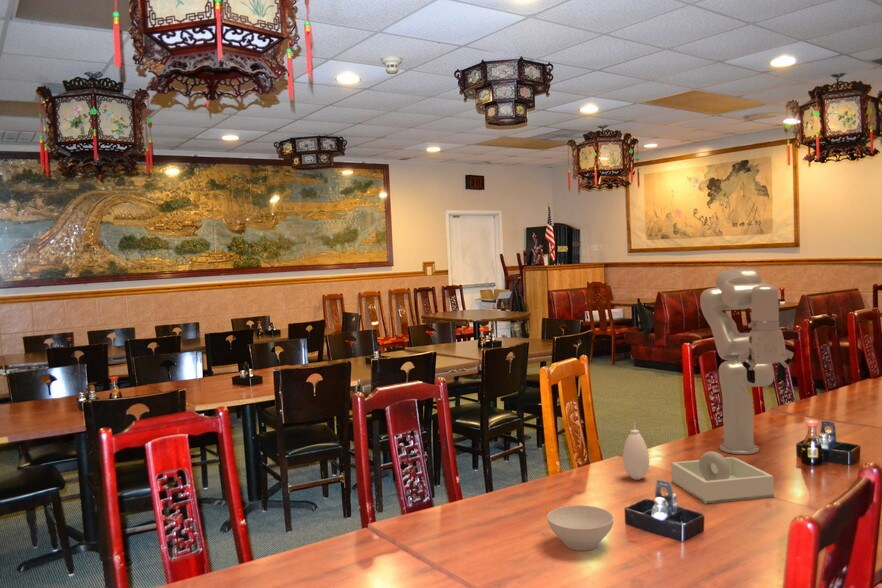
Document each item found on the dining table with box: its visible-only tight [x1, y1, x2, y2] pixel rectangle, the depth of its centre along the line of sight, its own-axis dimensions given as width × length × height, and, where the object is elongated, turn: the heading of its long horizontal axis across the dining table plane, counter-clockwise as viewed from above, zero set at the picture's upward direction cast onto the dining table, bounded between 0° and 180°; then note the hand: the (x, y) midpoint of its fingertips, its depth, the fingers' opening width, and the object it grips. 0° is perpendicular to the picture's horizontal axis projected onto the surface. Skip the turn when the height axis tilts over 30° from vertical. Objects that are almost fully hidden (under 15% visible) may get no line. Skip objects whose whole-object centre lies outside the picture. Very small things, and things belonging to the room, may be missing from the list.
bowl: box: [546, 504, 614, 552], centre depth 171 cm, size 16×16×7 cm
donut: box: [699, 450, 730, 481], centre depth 207 cm, size 10×4×10 cm, turn 31°
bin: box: [670, 456, 775, 505], centre depth 205 cm, size 20×20×6 cm
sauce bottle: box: [622, 421, 650, 481], centre depth 219 cm, size 8×8×18 cm
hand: (766, 381), depth 216 cm, fingers open, 9 cm apart
